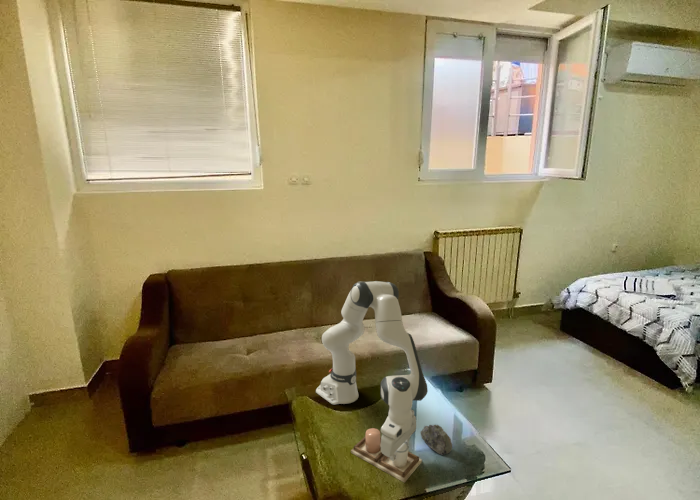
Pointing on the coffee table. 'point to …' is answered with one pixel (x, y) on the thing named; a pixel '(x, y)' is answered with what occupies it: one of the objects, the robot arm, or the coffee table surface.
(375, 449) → the tan rounded cylinder
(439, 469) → the coffee table surface
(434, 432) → the mineral rock
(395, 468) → the divided wooden tray
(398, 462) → the white cylinder
